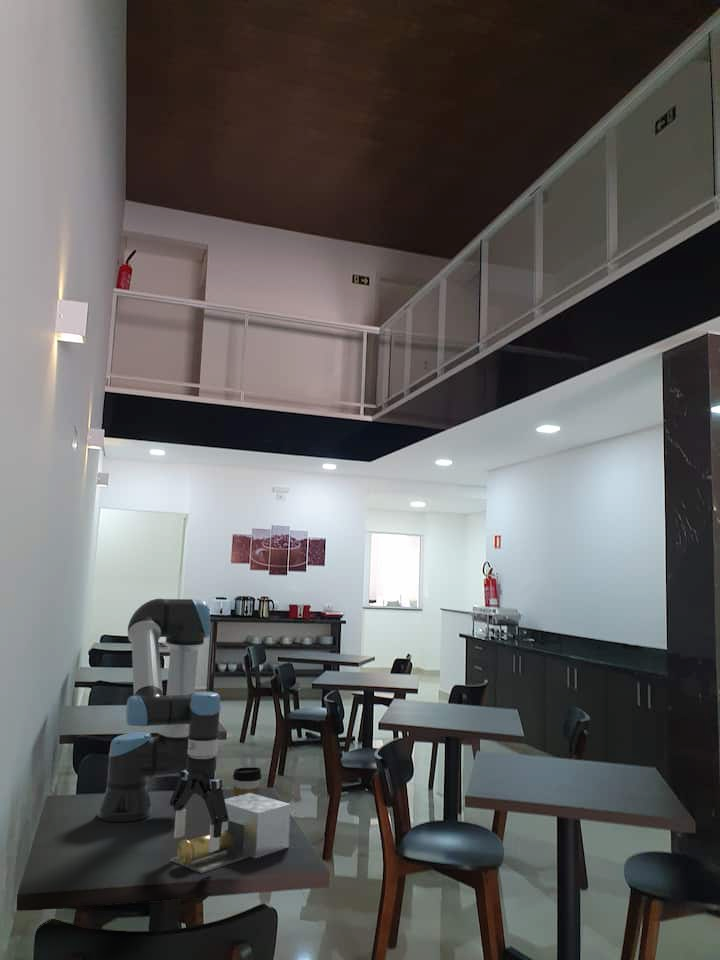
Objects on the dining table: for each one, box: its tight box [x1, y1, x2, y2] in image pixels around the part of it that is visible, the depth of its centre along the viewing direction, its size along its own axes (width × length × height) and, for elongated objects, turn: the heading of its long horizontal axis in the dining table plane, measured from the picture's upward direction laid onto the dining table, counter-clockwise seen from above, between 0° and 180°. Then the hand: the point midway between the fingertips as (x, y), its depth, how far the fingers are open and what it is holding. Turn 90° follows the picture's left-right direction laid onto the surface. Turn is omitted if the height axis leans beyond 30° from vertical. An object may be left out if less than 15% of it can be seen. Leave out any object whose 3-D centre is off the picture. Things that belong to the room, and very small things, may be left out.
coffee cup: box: [232, 766, 262, 797], centre depth 220 cm, size 8×8×15 cm
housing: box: [170, 793, 291, 874], centre depth 193 cm, size 16×28×11 cm, turn 141°
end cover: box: [176, 830, 233, 865], centre depth 187 cm, size 6×14×6 cm, turn 141°
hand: (196, 843), depth 185 cm, fingers open, 13 cm apart
